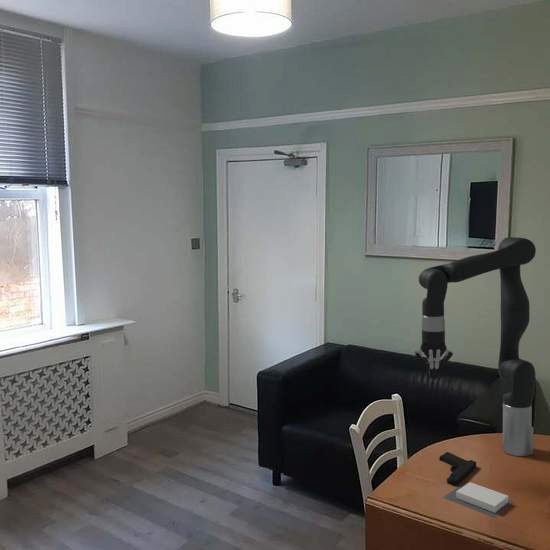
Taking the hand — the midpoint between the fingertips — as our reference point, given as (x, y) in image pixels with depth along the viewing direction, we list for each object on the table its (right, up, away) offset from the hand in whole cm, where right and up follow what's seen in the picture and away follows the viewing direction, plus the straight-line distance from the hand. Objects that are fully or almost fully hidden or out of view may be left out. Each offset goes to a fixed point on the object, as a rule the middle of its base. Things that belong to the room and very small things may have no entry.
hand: (433, 378), depth 190 cm
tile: (+3, -30, -21) cm, 36 cm away
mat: (+6, -32, -24) cm, 40 cm away
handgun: (+4, -30, -5) cm, 31 cm away
